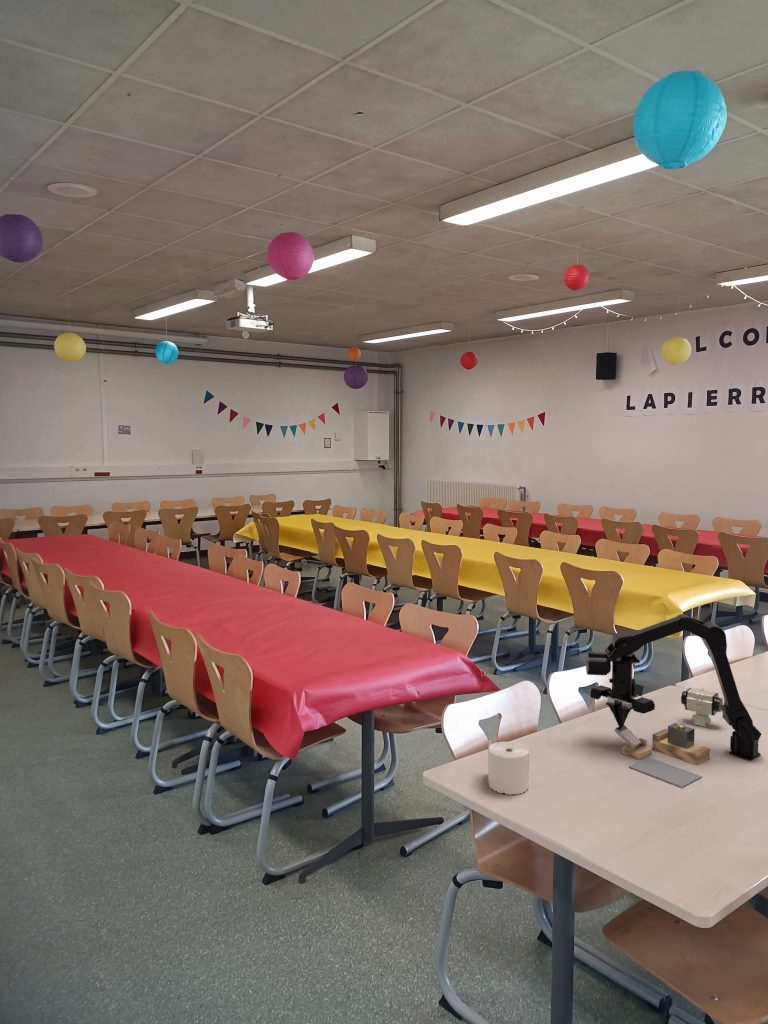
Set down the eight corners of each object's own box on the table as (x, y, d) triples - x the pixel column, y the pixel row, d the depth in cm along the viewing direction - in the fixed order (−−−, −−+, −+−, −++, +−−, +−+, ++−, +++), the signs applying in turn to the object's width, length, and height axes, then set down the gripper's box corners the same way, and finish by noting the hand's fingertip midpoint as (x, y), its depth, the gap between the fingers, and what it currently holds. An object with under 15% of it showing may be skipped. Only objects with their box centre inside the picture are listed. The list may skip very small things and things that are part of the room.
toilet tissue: (521, 798, 184) (521, 761, 184) (477, 788, 190) (477, 751, 189) (534, 782, 194) (534, 746, 193) (492, 772, 200) (492, 737, 199)
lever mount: (652, 754, 211) (652, 742, 211) (639, 760, 207) (639, 748, 207) (634, 747, 216) (634, 735, 216) (620, 753, 212) (621, 741, 212)
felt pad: (701, 777, 196) (701, 776, 196) (682, 788, 190) (682, 786, 190) (648, 758, 208) (648, 756, 208) (628, 767, 202) (628, 766, 202)
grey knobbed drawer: (694, 745, 210) (694, 726, 209) (686, 748, 207) (687, 730, 207) (674, 739, 215) (675, 720, 214) (667, 742, 212) (668, 723, 212)
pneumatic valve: (684, 718, 239) (685, 683, 238) (722, 726, 232) (723, 690, 231) (679, 723, 235) (680, 687, 234) (717, 732, 228) (718, 695, 227)
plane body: (709, 758, 208) (710, 743, 208) (696, 765, 204) (697, 749, 203) (665, 743, 219) (665, 728, 219) (652, 749, 215) (652, 734, 214)
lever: (642, 743, 212) (624, 724, 217) (635, 747, 209) (616, 727, 214) (641, 746, 212) (622, 727, 217) (633, 749, 210) (614, 730, 215)
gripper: (665, 678, 212) (664, 729, 213) (611, 663, 226) (610, 712, 227) (644, 685, 205) (643, 738, 206) (589, 670, 219) (588, 720, 221)
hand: (621, 726), depth 215 cm, fingers closed
